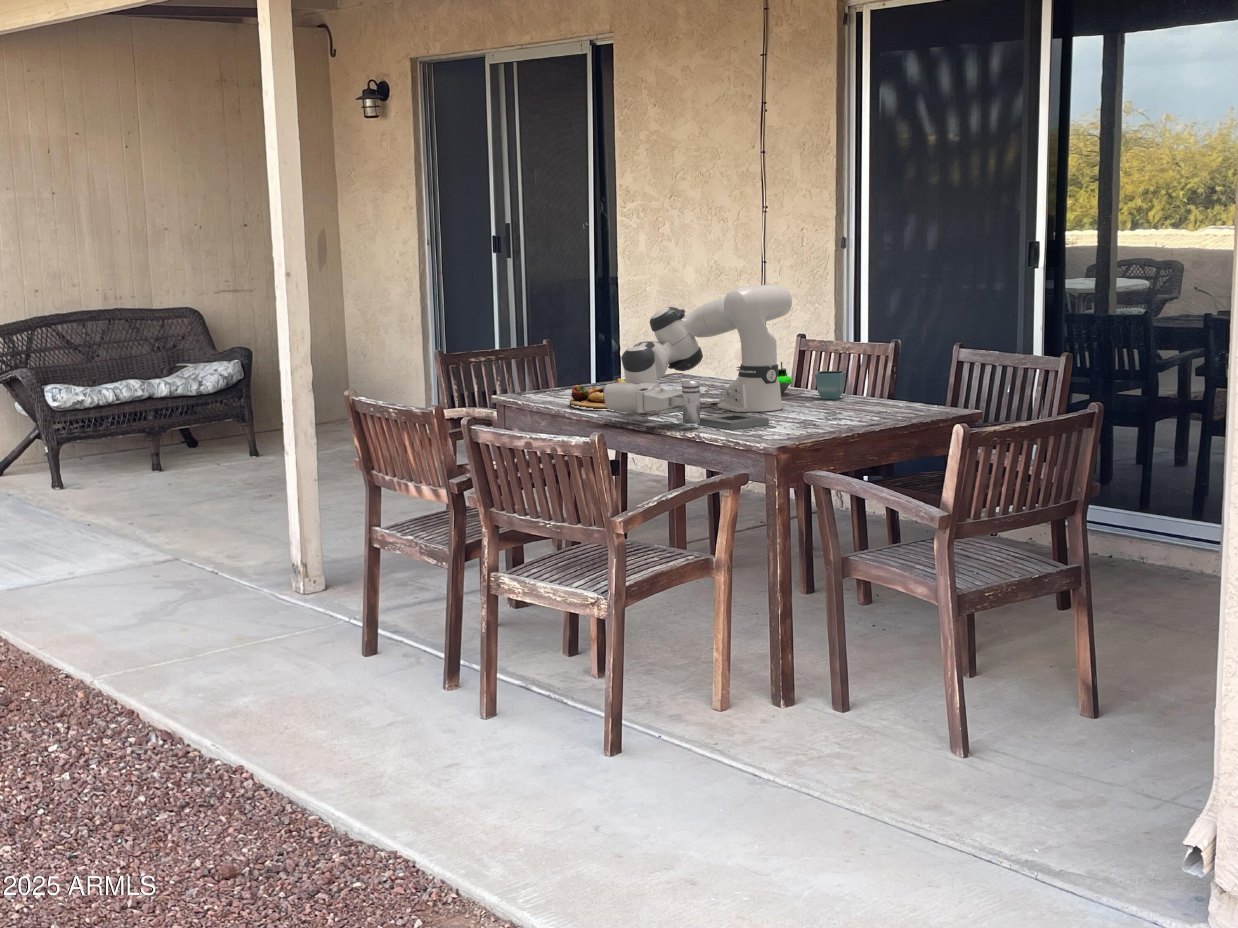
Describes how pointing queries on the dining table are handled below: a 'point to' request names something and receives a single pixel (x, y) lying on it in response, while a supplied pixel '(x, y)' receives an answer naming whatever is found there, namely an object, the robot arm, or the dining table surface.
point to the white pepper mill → (691, 402)
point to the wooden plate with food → (589, 397)
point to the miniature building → (783, 379)
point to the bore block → (733, 421)
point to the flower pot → (830, 384)
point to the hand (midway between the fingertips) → (693, 400)
